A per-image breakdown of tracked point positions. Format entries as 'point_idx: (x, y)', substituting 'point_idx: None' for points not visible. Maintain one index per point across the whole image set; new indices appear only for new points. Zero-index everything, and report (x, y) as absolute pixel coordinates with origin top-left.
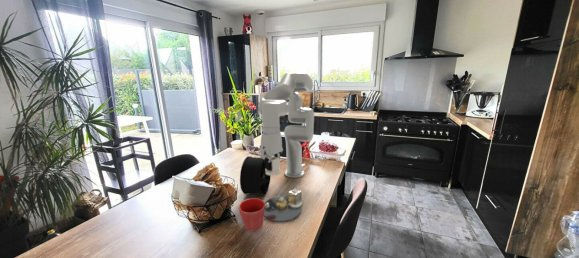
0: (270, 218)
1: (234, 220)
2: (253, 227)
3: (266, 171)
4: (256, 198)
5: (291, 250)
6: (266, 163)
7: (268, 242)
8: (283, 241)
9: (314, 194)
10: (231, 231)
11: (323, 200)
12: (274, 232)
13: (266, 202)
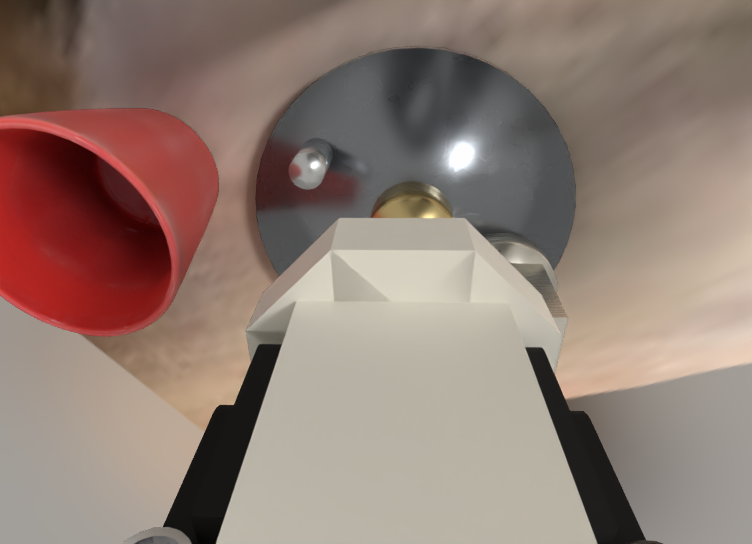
0: (263, 241)
1: (62, 6)
2: (115, 229)
3: (252, 344)
4: (147, 198)
5: (204, 421)
6: (177, 522)
7: (151, 330)
8: (212, 375)
9: (726, 291)
10: (4, 100)
11: (662, 368)
12: (218, 311)
13: (313, 157)
